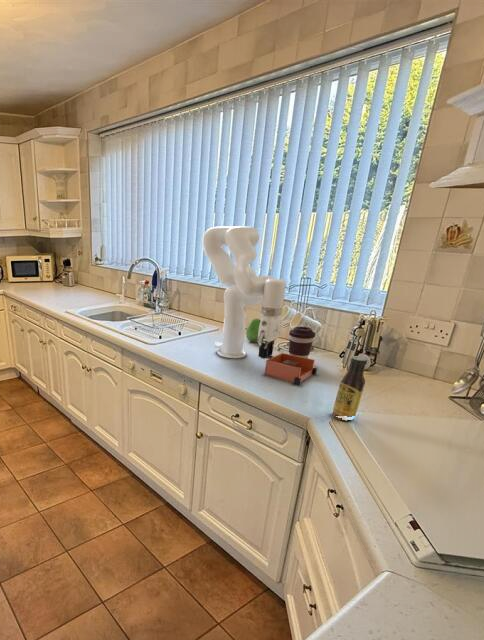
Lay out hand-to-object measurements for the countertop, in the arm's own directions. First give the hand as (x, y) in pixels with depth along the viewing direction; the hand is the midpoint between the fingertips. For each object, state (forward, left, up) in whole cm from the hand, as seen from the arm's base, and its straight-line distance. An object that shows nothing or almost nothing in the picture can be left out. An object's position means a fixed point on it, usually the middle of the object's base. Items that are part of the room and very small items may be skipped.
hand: (265, 355), depth 161 cm
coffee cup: (+6, +18, -6) cm, 20 cm away
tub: (+8, 0, -6) cm, 10 cm away
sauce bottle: (+38, -24, -6) cm, 46 cm away
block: (+11, 0, -5) cm, 12 cm away
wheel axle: (+17, 0, -6) cm, 18 cm away
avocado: (-23, +34, -6) cm, 41 cm away
